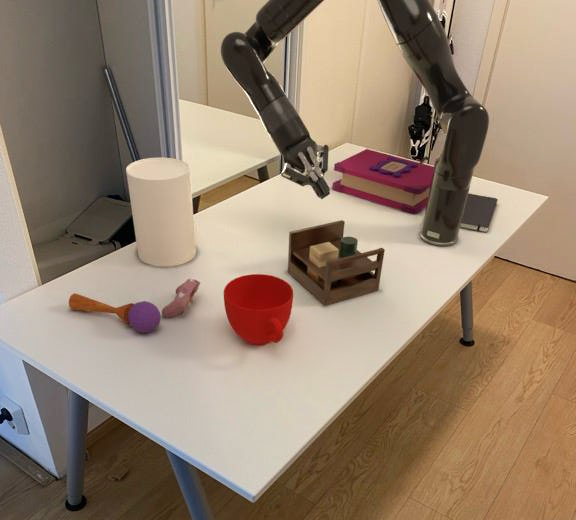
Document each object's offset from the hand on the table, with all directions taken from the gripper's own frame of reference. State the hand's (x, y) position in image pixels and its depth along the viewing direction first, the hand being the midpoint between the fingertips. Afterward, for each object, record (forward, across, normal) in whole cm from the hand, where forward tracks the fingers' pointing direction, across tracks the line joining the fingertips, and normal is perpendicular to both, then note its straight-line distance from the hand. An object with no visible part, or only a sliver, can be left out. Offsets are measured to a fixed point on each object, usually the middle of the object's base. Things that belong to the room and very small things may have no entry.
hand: (326, 196), depth 128 cm
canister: (-9, -30, +24) cm, 40 cm away
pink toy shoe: (+3, -40, +5) cm, 40 cm away
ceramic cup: (+17, -34, -9) cm, 39 cm away
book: (+8, +40, +33) cm, 52 cm away
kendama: (-2, -52, +6) cm, 53 cm away
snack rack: (+16, -8, +2) cm, 18 cm away
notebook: (+24, +46, +16) cm, 55 cm away
